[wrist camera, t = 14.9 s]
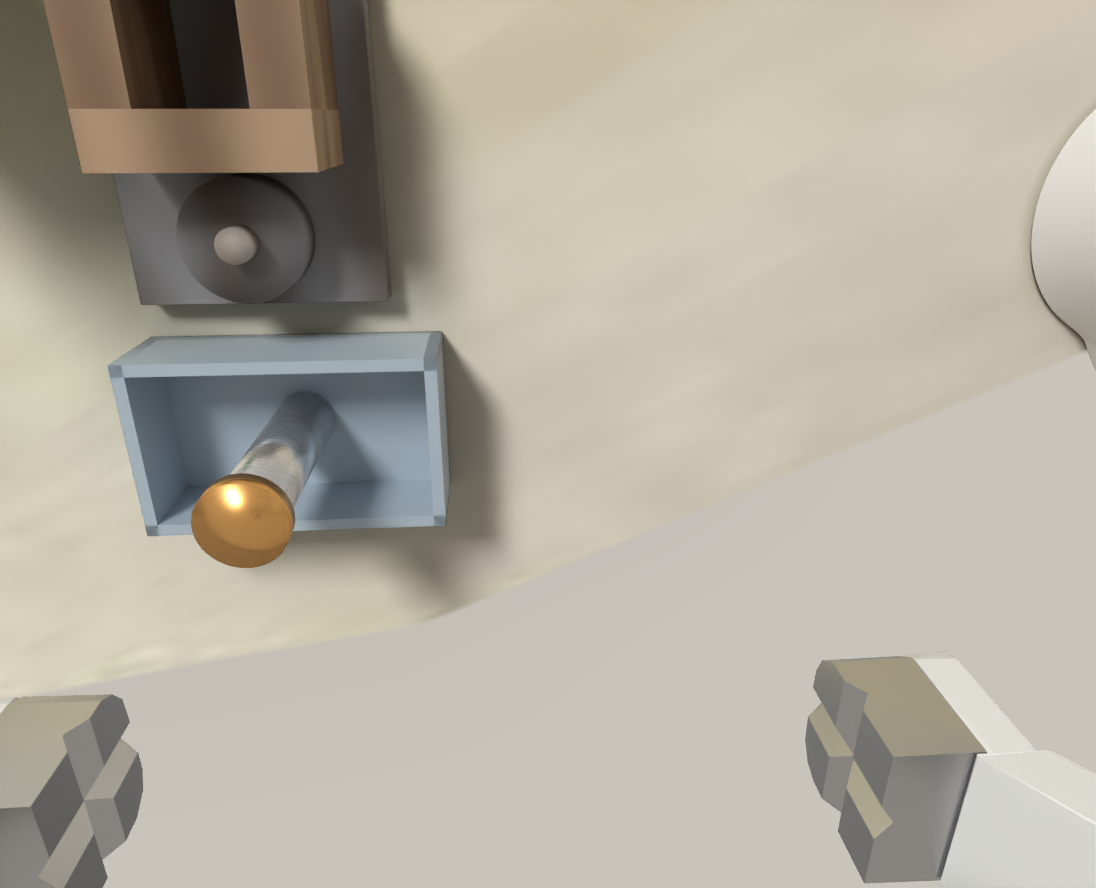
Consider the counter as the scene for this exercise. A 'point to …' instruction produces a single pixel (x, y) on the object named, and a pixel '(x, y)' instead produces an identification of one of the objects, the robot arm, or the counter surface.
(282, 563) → the counter surface
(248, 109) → the bracket
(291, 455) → the pin
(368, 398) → the tray
